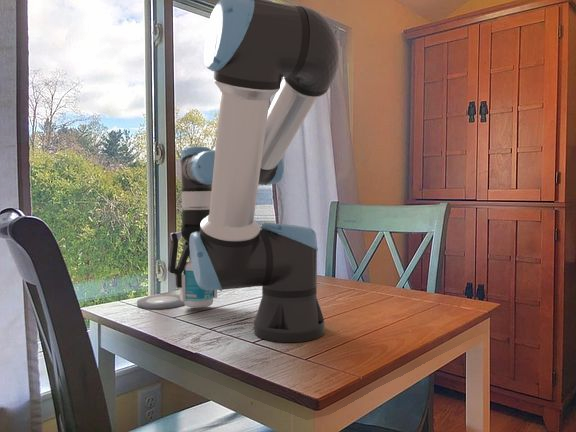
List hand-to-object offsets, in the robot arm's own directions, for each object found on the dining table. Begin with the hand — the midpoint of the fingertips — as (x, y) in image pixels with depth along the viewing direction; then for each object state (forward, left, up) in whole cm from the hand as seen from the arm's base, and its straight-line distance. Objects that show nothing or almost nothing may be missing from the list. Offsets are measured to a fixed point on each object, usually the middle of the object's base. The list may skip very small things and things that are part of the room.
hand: (198, 298), depth 122 cm
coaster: (+10, +7, -3) cm, 13 cm away
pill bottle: (0, 0, -2) cm, 2 cm away
